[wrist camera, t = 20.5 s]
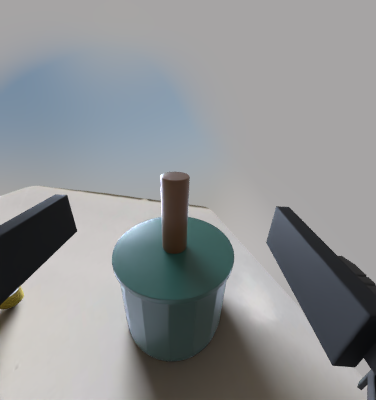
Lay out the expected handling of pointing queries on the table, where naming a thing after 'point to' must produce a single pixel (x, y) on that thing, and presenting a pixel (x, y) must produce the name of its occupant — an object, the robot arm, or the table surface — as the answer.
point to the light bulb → (13, 299)
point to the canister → (173, 325)
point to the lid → (173, 252)
